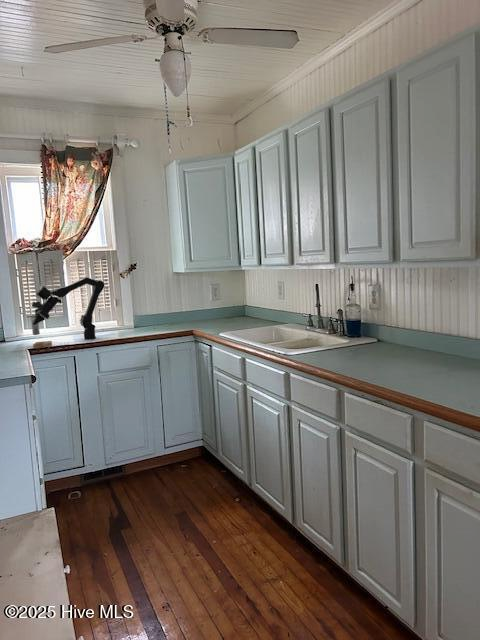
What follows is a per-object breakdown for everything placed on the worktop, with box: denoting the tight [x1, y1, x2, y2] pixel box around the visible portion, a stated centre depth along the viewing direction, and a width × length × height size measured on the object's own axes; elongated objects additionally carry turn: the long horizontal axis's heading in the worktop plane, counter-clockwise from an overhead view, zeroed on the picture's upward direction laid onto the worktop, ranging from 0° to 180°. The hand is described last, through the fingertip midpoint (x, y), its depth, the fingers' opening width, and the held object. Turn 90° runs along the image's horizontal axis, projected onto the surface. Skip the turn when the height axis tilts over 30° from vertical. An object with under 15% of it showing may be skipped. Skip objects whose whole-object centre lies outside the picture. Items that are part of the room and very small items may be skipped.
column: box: [30, 314, 41, 336], centre depth 298 cm, size 4×4×12 cm
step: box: [32, 340, 53, 349], centre depth 294 cm, size 9×9×2 cm
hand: (32, 324), depth 297 cm, fingers closed on column, 4 cm apart
